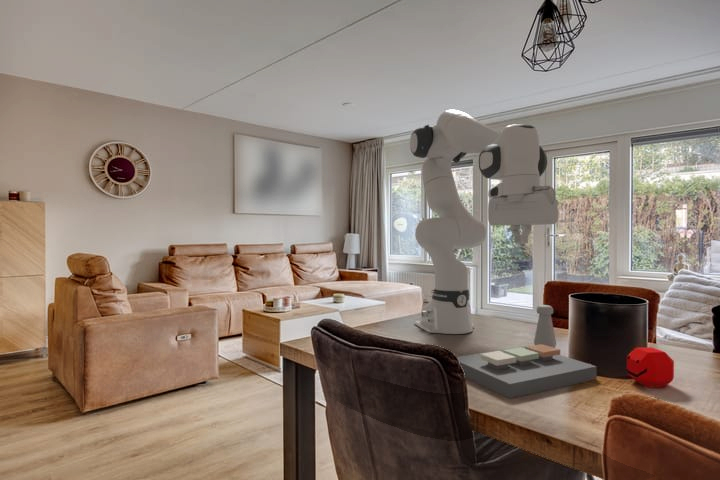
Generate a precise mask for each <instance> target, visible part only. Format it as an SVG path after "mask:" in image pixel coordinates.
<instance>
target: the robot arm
mask: <svg viewBox="0 0 720 480" xmlns="http://www.w3.org/2000/svg"><path fill="white" fill-rule="evenodd" d="M502 130H503V131H502V132H500V131H497V130H496V129H493V128H492V127H490V126H489V125H488V126H487V125H486V124H484V123H483V122H480V120H477V119H476V118H474V117H472V115H469V114H468V113H466V112H464V111H462V110H457V109H448V110H445V111H443V112H442V113H441V114H440V115H439V117H438V119H437V121H436V125H433V126H430V125H429V124H425V125H424V126H422V127H418V128H415V130H414V131H413V132H412V133H411V135H410V140H409V146H410V151H411V153H412V155H413V157H416V158H421V159H425V160H424V161H423V163H422V165H421V166H422V167H421V169H422V170H421V172H422V176H421V177H422V183H423V189H424V194H425V197H426V203H427V205H428V207H429V209H430V210H431V211H432V212H434V213H435V214H437V215H439V216H440V217H430V218H426V219H425V218H424V219H422V220H420V221H419V222H418V223H417V226H416V228H415V230H414V231H415V234H414V236H415V240H416V242H417V244H418V245H419V247H421V248H422V249H423V250H424V251H426V253H427V254H428V255H429V257H430V259H431V261H432V265H433V271H434V289H431V290H430V291H431V292H430V293H431V294H432V295H431V300H430V301H428V303H426V304H425V305H424V306H423V307H422V308H421V313H420V319H417V320H415V321H414V325H415V326H417V327H419V328H421V329H422V330H424V331H425V332H427V333H431V334H445V335H461V334H469V333H471V332H473V331H474V328H475V324H474V323H473V320H472V319H473V318H472V310H471V304H470V303H469V300H470V290H469V287H468V283H469V282H468V279H469V278H468V271H469V270H468V267H467V265H466V264H465V263H464V262H463V261H461V260H459V259H457V257H456V256H455V255H456V254H455V252H454V250H463V249H464V250H468V249H471V248H476V247H479V246H481V245H482V244H483V243H484V242H485V239H486V237H487V229H486V225H485V224H484V223H483V222H482V221H481V219H478V218H477V217H476V216H474V215H473V214H471V212H470V211H469V210H468V209H467V208H466V206H465V205H464V204H463V202H462V200H461V198H460V195H459V192H458V188H457V186H456V183H455V177H454V174H453V172H452V171H453V170H452V163H456V164H457V163H459V162H460V161H461V159H463V158H464V157H465V156H466V155H467V154H479V156H478V169H479V172H480V173H481V175H482V176H483V177H484V178H485V179H489V180H493V181H494V180H501V182H500V183H498V184H497V185H495V186H494V187H492V188H490V189H489V190H488V192H487V193H488V195H487V196H488V198H490V199H489V201H488V205H487V206H488V207H487V220H488V223H489V225H490V226H491V227H492V226H495V227H497V226H510V227H509V229H510V232H511V234H512V236H513V243H514V244H528V242H529V239H528V238H529V236H530V234H531V231H532V226H533V225H535V226H537V225H538V226H539V225H543V226H544V225H556V224H557V222H558V220H559V209H558V203H557V197H556V190H555V188H553V187H552V186H551V185H547V184H546V185H540V183H541V182H540V180H541V179H540V177H541V176H542V175H543V174H544V172H546V170H547V166H548V157H547V154H546V152H545V150H544V149H543V147H542V146H541V145H540V139H539V134H538V129H537V128H536V127H535V126H533V125H531V124H515V123H514V124H508V125H507V126H505V127H504V128H503V129H502ZM520 230H522V232H520Z"/></svg>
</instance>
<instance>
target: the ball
mask: <svg viewBox="0 0 720 480" xmlns="http://www.w3.org/2000/svg"><path fill="white" fill-rule="evenodd" d="M626 374H628V375H629V376H630V378H632V379H633V380H634V382H636V383H638V384H641V385H643V386H644V387H647V388H666V386H667V385H669V384H670V383H671V382H673V380H674V378H675V376H674V375H675V361H674V360H673V358H671V356H670V355H669V354H668V353H667V352H665V351H663V350H660V349H657V348H654V347H653V346H651V347H650V346H649V347H647V346H645V347H635V348H634V349H633V350H631V352H630V353H629V354H628V355H627V357H626Z"/></svg>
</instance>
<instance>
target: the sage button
mask: <svg viewBox="0 0 720 480" xmlns="http://www.w3.org/2000/svg"><path fill="white" fill-rule="evenodd" d="M519 347H520V348H517V347H513V348H514V349H511V348H507V349H508V350H504V349H502V350H503V353H506V354H509V355H512V356H515V357H516V362H515V364H518V365H527V364H531V360H532V359H538V358H539V353H537V352H534V351H530V350H527V349H524V348H521V347H522V346H519Z"/></svg>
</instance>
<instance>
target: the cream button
mask: <svg viewBox="0 0 720 480" xmlns="http://www.w3.org/2000/svg"><path fill="white" fill-rule="evenodd" d="M494 351H495V352H492V351H488V352H489V353H486V352H482V353H483V354H480V359H482V360H484V361H487V362H488V366H489V367H492V368H494V369H497V370H500V369H505V368H508V364H510V363H515V362H516V357H515V356H512V355H509V354H506V353H503V352H501V351H498V350H494Z"/></svg>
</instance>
